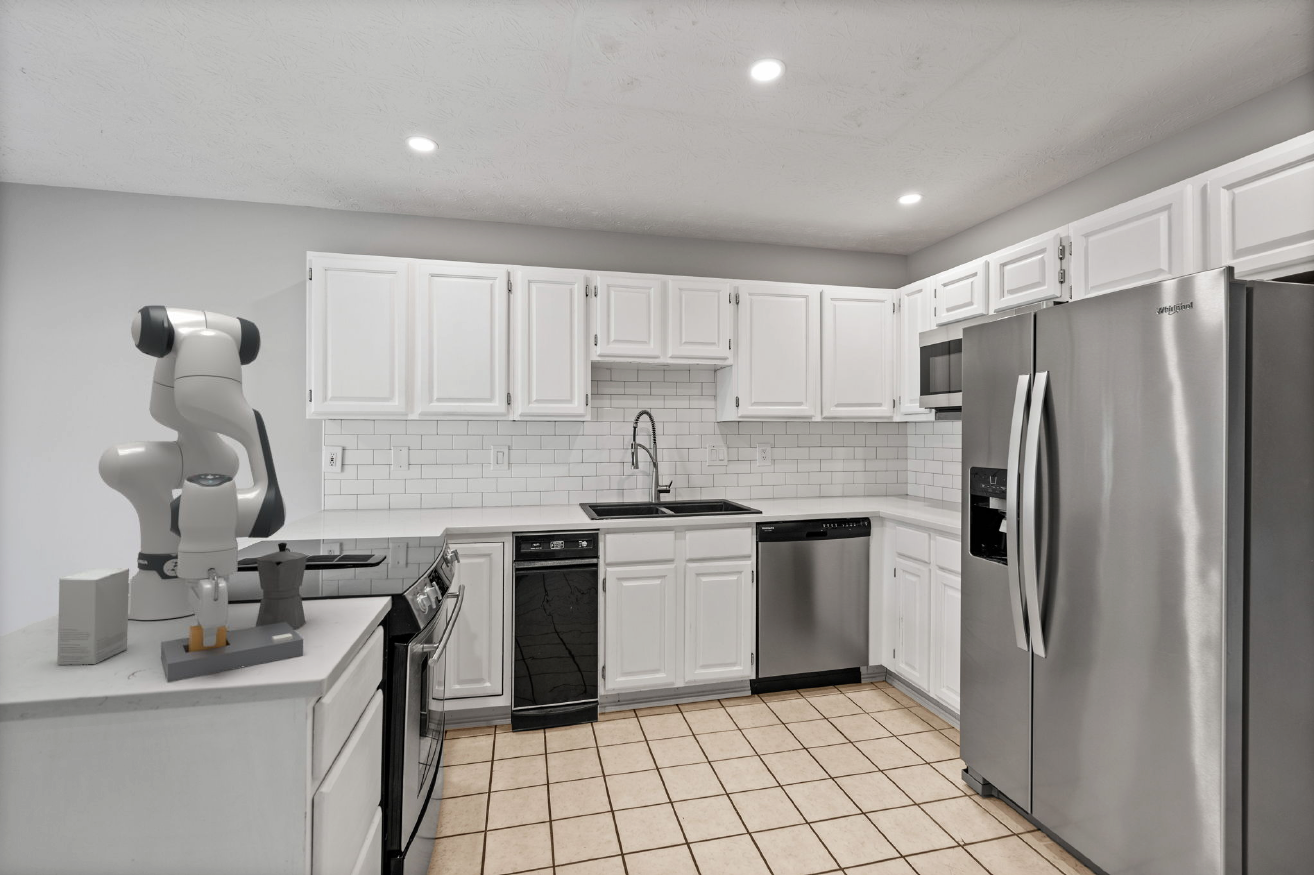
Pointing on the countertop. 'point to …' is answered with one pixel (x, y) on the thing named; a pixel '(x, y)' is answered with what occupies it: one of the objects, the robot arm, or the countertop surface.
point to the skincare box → (92, 615)
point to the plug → (197, 638)
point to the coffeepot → (281, 587)
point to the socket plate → (231, 651)
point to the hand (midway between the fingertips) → (206, 640)
